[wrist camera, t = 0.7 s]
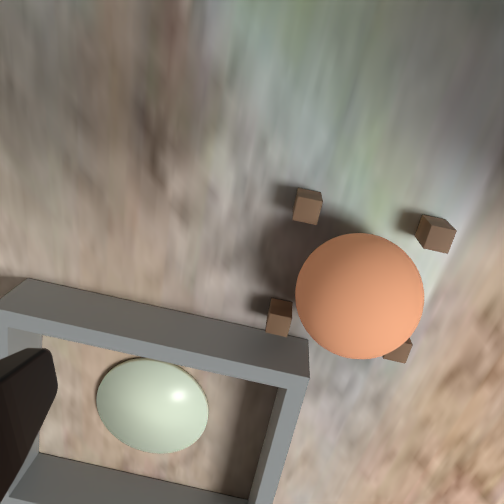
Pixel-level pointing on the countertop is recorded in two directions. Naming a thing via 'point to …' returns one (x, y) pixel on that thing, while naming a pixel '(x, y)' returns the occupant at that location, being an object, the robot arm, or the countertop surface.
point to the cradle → (307, 210)
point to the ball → (359, 296)
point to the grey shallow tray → (150, 390)
